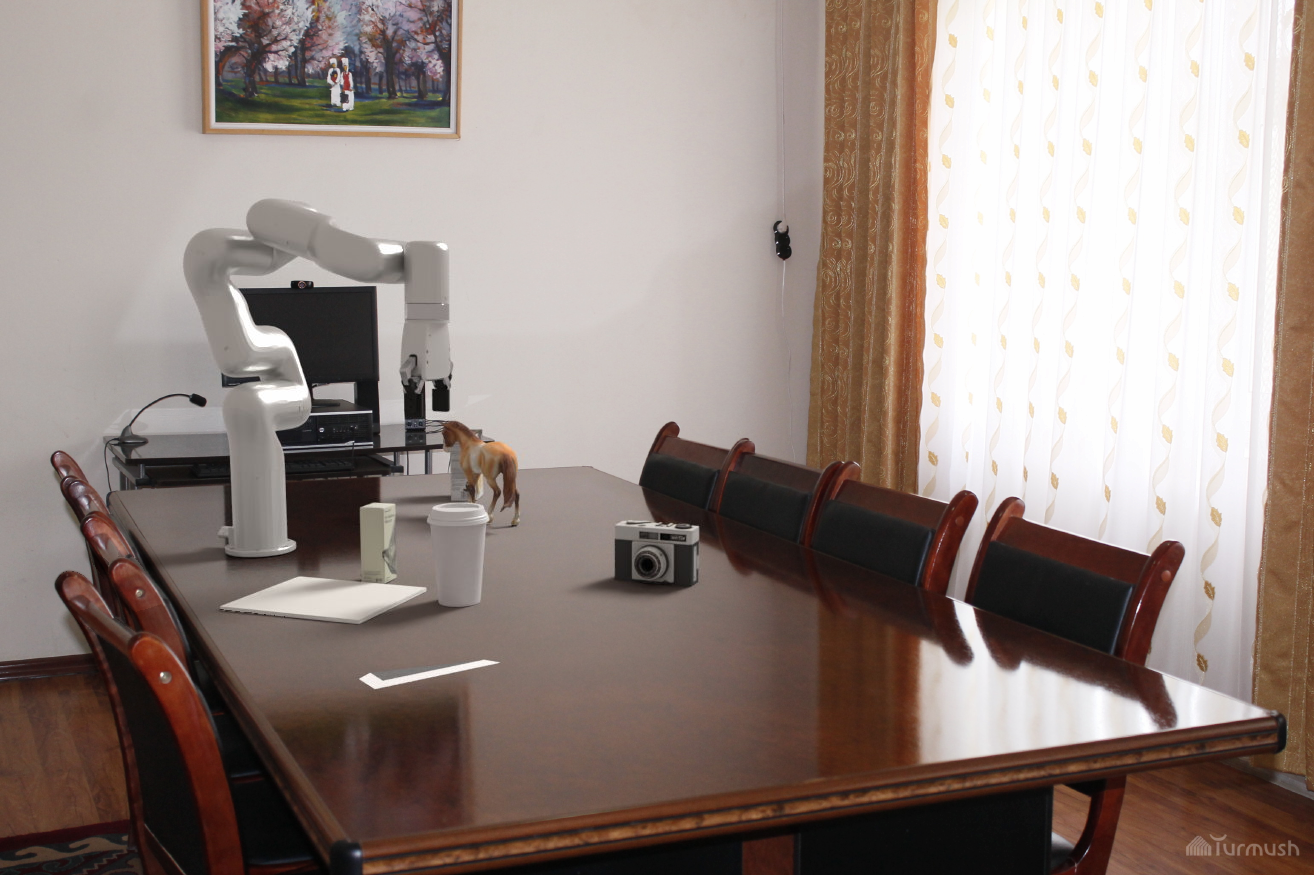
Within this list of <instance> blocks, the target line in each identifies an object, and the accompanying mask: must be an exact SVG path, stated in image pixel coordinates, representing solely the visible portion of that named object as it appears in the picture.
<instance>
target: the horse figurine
mask: <svg viewBox="0 0 1314 875" xmlns="http://www.w3.org/2000/svg"><path fill="white" fill-rule="evenodd" d="M439 423H440V425H441V426H442V427H443V428H442V431H441V435H442V437H443V446H442V450H443V451H444V452H445V453H449V454H450V452H451V448H452V447H453V445H454V444H455V442H456V441H458V442H459V445H460V448H461V452H460V457H459V463H460V466H461V468H462V469H463V471H464V475H465V477H466V479H467V481H468V483H469V496H468V501H467V503H475V504H476V501H475V493H476V490H475V486H476V483H477V481H478V479H479V477H480V475H481V474H483V478H485V480H486V484H487V485H488V486H489V488H490V489H492V491H493V496H492V501H491V502H490V505H489V507H488V509H487V514H488V516H489V521H488V522H486V524H492V522H493V521H494V517H493V512H494V510H495V507H496V505H497V501H498V500H499V499H500V497H501V494H502V495H503V504H502V507H501V508H500V511H499V513H503V511H504V510H505V509H507V508H510V509H511V507H512V506H513V504H514V516H513V518H512V521H511V522H510V524H511V525H512V526H513V525H514V526H515V525H516V526H518V525H519V524H520V516H521V512H520V507H519V506H520V504H519V503H520V494H521V493H520V492H519V490H518V488H517V481H516V480H517V475H518V471H519V468H518V467H519V466H518V458H517V454H516V452H515V451H514V450H513V449H512V448H511V447H510V446H509V445H507V444H506V443H504V442H502V441H492V442H491V441H490V442H487V443H486V442H484V441H483V439H482V440H480V439H479V438H478V437H477V436H476V435H475V434H474V433H473V432H472V431H471V430H470V428H469V427H468V426H467V425H465V424H464V423H463V422H460V421H458V420H451V421H448V422H447V421H446V420H445V421H444V422H443V421H439ZM500 474H502V483H503V484H502V486H503V487H502V490H501V488H500V487H499V485H498V483H497V477H498V476H499V475H500Z"/></svg>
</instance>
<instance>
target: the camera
mask: <svg viewBox="0 0 1314 875" xmlns="http://www.w3.org/2000/svg"><path fill="white" fill-rule="evenodd" d="M699 544H700V526H699V525H691V524H689V523H678V524H676V523H675V524H674V523H673V522H670V523H668V524H663V522H653V521H650V520H630V519H629V520H622V521H619V522H617V523H616V524H614V580H615V581H624V582H632V583H633V582H634V583H646V584H654V585H657V584H658V585H666V586H678V587H688V588H692V587H694V586H695V585H696V584H697V583H699V567H700V566H699V565H700V564H699V562H700V560H699V559H700V554H699V552H700V549H699V548H700V545H699Z"/></svg>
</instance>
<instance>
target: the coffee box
mask: <svg viewBox="0 0 1314 875" xmlns="http://www.w3.org/2000/svg"><path fill="white" fill-rule="evenodd" d="M469 429H470V428H469ZM470 430H471V431H472V432H473V433H474V434H475V435H476V436H477V437H478V438H479V439H480V440H482V441H483V429H482V428H481V429H478V428H477V429H476V428H475V429H474V428H473V429H470ZM460 452H461V448H460V445H459V442H458V441H456V442H455V444H454V445H453V447H452V448H451V452H450V453H449V457H450V459H449V460H450V461H449V463H450V465H449V466H450V470H449V471H450V500H451V501H452V502H468V496H469V483H468V481H467V479H466V477H465V475H464V471H463V469H462V468H461V466H460V463H459V457H460ZM475 490H476V493H475V500H477V501H479V499H480V498H481V497H482V496H483V495H484V476H483V474H481V475H480V477H479V479H478V481H477V483H476V486H475Z"/></svg>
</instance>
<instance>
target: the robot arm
mask: <svg viewBox="0 0 1314 875" xmlns="http://www.w3.org/2000/svg"><path fill="white" fill-rule="evenodd" d="M245 222H246V224H245V225H246V228H247V229H240V228H231V227H229V228H228V227H215V228H214V227H213V228H206V229H203V230H201V231H199V232H197V233H195V234H194V235H193V236H192V237H191V238H190V240H189V241H188V243H187V245H186V247H185V250H184V252H183V253H184V254H183V258H182V260H183V261H182V265H183V266H182V269H183V275H184V279H185V282H186V285H187V287H188V290H189V292H190V294H191V295H192V298H193V300H194V302H195V304H196V307H197V309H198V312H199V316H200V318H201V321H202V325H203V329H204V332H205V335H206V339H207V341H208V344H209V346H210V350H211V354H212V356H213V360H214V362H215V365H216V367H217V368H218V370H219V372H220V373H222V375H225V376H226V377H229V378H253V377H259V379H260V380H259V381H249V382H244V383H241V384H238V385H236V386H234V387H233V388H231V389H230V390H229V391H228V392H226V395H225V396H224V399H223V401H222V410H221V411H222V418H223V422H224V426H225V430H226V434H227V441H228V447H229V460H230V461H229V462H230V463H229V465H230V484H231V486H230V487H231V488H230V490H231V505H232V506H231V507H232V508H231V513H232V514H231V515H232V526H226V525H223V526H221V527H220V529H219V531H218V532H217V537H218V538H221V539H227V540H228V544H226V545H225V546H224V553H225V554H226V555H228V556H232V557H239V558H262V557H263V558H264V557H270V556H271V557H272V556H278V555H284V554H288V553H291V552H293V551H294V550H296V548H297V542H296V541H295V540H292V539H290V538H288V525H287V523H288V519H287V498H286V494H287V493H286V488H287V487H286V468H285V464H286V463H285V454H284V450H283V447H282V444H281V442H280V440H279V438H278V435H277V433H276V432H277V431H285V430H291V429H295V428H299V427H300V426H302V425H303V424H305V423H306V422H307V420H308V419H309V417H310V414H311V411H312V398H311V394H310V389H309V387H308V384H307V381H306V377H305V374H304V372H303V371H304V370H303V368H302V365H301V362H300V358H299V355H298V353H297V349H296V347H295V345H294V343H293V340H292V339H291V338H290V336H289V335H287V334H288V333H286V332H285V331H283V330H282V329H280V328H278V327H276V326H271V325H257V324H255V322H254V319H253V317H252V315H251V312H250V310H249V309H250V308H249V305H248V303H247V300H246V297H244V295H243V293H242V292H241V291H240V289H239V288H238V287H237V286H236V285H235V284H234V282H233V281H232V280H231V279H230V278H231V276H244V277H245V276H247V277H249V276H250V277H261V276H267V275H269V274H272V273H274V272H276V271H278V270H280V269H281V268H282V267H284V266H285V265H287V264H288V263H291V262H292V261H294V260H295V259H297V258H299V257H300V258H303V259H305V260H308V261H311V262H314V263H315V264H316V266H318V267H319V268H321V269H323V270H325V271H327V272H330V273H332V274H335V275H338V276H340V277H343V278H346V279H349V280H352V281H355V282H359V283H365V284H383V285H385V284H386V285H402V284H403V285H404V288H403V289H404V290H403V291H404V324H403V329H402V330H403V331H402V335H401V336H402V338H401V347H400V348H401V349H400V367H399V370H398V371H399V372H398V373H399V374H400V379H401V381H400V382H401V386H402V387H403V388H402V392H403V393H404V416H405V417H407V418H423V417H424V393H421V392H422V389H423V386H424V384H425V382H431V383H432V386H433V388H431V410H432V412H439V413H448V412H450V410H451V402H450V401H451V399H450V398H451V392H450V391H451V390H450V389H451V387H452V383H451V381H452V378H453V369H454V363H453V362H452V360H451V343H450V341H451V340H450V333H449V325H448V324H449V323H450V249H449V247H448V245H447V244H446V243H445V242H442V241H438V240H436V241H435V240H412V241H404V240H397V239H396V240H394V239H386V238H376V237H375V238H373V237H372V238H371V237H367V236H361V235H358V234H355V233H351V232H349V231H346V230H343V229H341V227H340V224H339V223H338V221H337V220H336V219H335V218H334V217H333V216H330V215H327V214H325V213H322V212H319V211H318V210H317V209H316V208H315V207H314V206H313V205H311V204H309V203H307V202H303V201H299V200H298V201H297V200H291V199H290V200H288V199H283V198H270V197H269V198H264V199H260V200H258V201H256V202H255V203H253V204H252V205H251V206H250V207H249V209H248V211H247V213H246V216H245Z"/></svg>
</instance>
